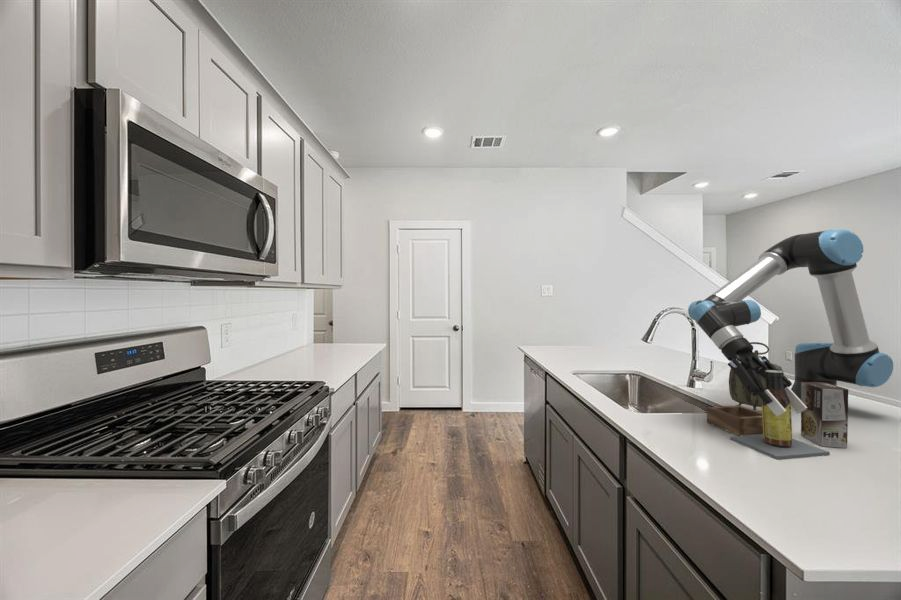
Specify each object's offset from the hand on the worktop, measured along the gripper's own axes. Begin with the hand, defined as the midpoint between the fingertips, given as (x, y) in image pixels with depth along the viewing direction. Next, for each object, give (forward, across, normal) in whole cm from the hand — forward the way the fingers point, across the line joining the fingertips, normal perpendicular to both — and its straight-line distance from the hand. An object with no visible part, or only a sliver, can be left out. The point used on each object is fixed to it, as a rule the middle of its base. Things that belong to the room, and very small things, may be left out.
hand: (792, 412), depth 106 cm
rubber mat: (+5, 0, -10) cm, 11 cm away
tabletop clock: (-10, -24, -25) cm, 36 cm away
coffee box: (+7, -16, -9) cm, 20 cm away
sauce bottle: (+4, 0, -9) cm, 10 cm away
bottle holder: (-5, -6, -20) cm, 21 cm away
